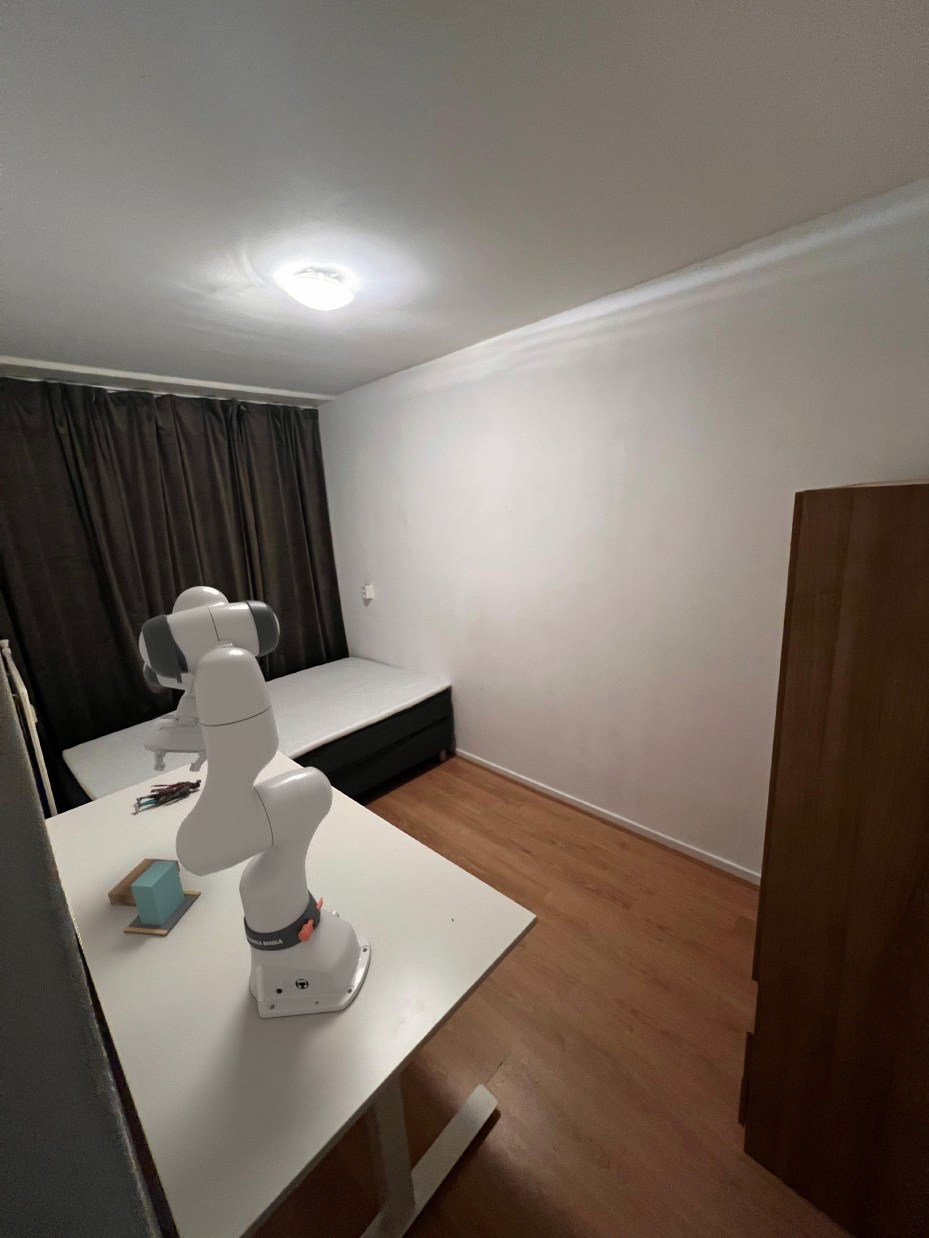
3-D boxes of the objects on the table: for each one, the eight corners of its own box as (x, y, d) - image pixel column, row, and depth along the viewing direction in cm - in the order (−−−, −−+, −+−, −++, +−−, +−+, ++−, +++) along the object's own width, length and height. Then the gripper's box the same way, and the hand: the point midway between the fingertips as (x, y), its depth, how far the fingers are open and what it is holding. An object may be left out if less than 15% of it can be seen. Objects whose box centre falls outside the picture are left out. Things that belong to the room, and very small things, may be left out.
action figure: (136, 817, 143) (204, 795, 151) (130, 801, 141) (199, 779, 149) (139, 801, 150) (203, 781, 157) (133, 786, 148) (198, 765, 155)
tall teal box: (184, 898, 110) (175, 862, 107) (162, 925, 103) (151, 886, 101) (165, 897, 111) (155, 860, 108) (141, 923, 104) (130, 885, 101)
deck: (180, 870, 119) (177, 860, 118) (145, 907, 109) (142, 896, 108) (147, 868, 121) (145, 858, 120) (110, 904, 110) (107, 893, 109)
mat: (200, 894, 111) (200, 891, 111) (166, 936, 101) (165, 933, 101) (162, 891, 113) (161, 888, 113) (124, 932, 102) (123, 930, 102)
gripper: (150, 710, 120) (127, 766, 113) (224, 710, 117) (206, 768, 110) (167, 718, 125) (146, 772, 119) (238, 719, 122) (222, 774, 115)
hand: (176, 770), depth 114 cm, fingers open, 8 cm apart
